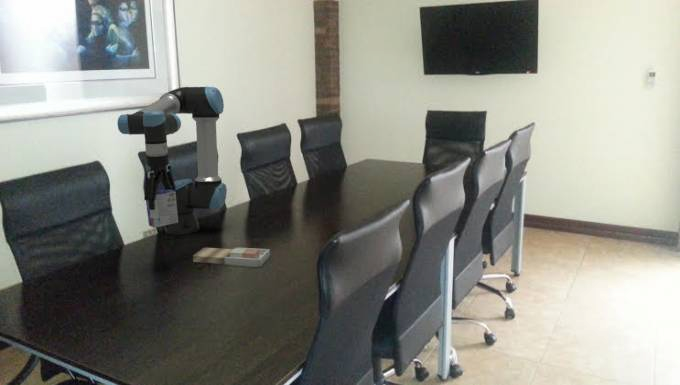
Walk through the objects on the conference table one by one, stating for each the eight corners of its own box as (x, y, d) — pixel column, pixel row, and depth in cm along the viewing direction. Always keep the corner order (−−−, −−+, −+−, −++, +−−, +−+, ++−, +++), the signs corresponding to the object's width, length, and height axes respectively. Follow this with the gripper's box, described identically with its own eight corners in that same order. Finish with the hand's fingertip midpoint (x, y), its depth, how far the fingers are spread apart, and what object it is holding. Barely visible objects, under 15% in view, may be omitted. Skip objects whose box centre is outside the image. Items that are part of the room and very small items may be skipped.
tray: (224, 265, 211) (224, 257, 211) (236, 254, 223) (236, 247, 222) (259, 267, 209) (259, 259, 208) (270, 256, 220) (270, 249, 219)
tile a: (230, 259, 215) (229, 252, 214) (235, 255, 219) (234, 248, 219) (242, 260, 214) (241, 253, 213) (247, 256, 218) (246, 249, 218)
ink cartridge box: (172, 219, 212) (168, 182, 209) (179, 222, 208) (176, 184, 205) (147, 225, 205) (143, 187, 202) (154, 228, 201) (150, 189, 198)
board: (193, 261, 215) (192, 255, 214) (204, 253, 225) (204, 247, 224) (224, 264, 212) (224, 257, 212) (234, 255, 222) (234, 249, 221)
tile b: (242, 260, 213) (242, 253, 213) (247, 256, 218) (246, 249, 218) (254, 261, 212) (254, 254, 212) (259, 257, 217) (259, 249, 217)
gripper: (149, 160, 189) (155, 223, 194) (182, 149, 211) (186, 206, 216) (129, 160, 190) (135, 221, 196) (164, 149, 212) (169, 205, 217)
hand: (162, 213), depth 206 cm, fingers closed on ink cartridge box, 11 cm apart
